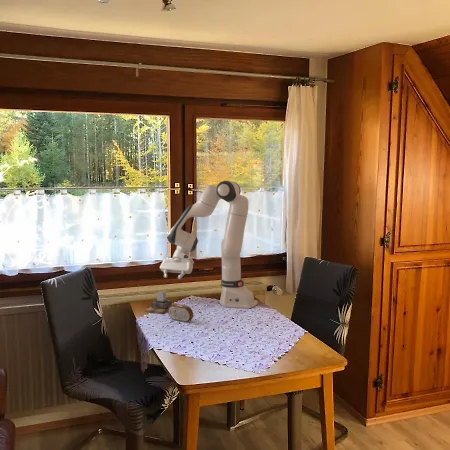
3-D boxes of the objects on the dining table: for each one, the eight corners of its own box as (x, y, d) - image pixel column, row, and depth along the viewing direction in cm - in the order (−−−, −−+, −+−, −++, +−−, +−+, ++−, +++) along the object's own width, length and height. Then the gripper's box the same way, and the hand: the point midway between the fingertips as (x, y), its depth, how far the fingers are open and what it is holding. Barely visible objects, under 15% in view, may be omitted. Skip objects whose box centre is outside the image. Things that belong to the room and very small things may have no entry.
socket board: (177, 305, 284) (177, 298, 283) (162, 314, 268) (162, 306, 268) (161, 303, 288) (161, 296, 288) (145, 311, 273) (145, 304, 272)
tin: (193, 322, 255) (193, 306, 254) (190, 323, 252) (189, 308, 251) (171, 317, 263) (170, 302, 262) (167, 319, 260) (167, 303, 259)
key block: (166, 306, 279) (165, 291, 278) (163, 307, 276) (163, 293, 275) (160, 305, 280) (159, 291, 279) (157, 306, 278) (156, 292, 277)
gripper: (162, 254, 297) (154, 273, 289) (192, 256, 288) (185, 276, 281) (166, 260, 301) (158, 279, 294) (196, 262, 293) (189, 282, 286)
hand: (172, 277), depth 287 cm, fingers open, 8 cm apart
